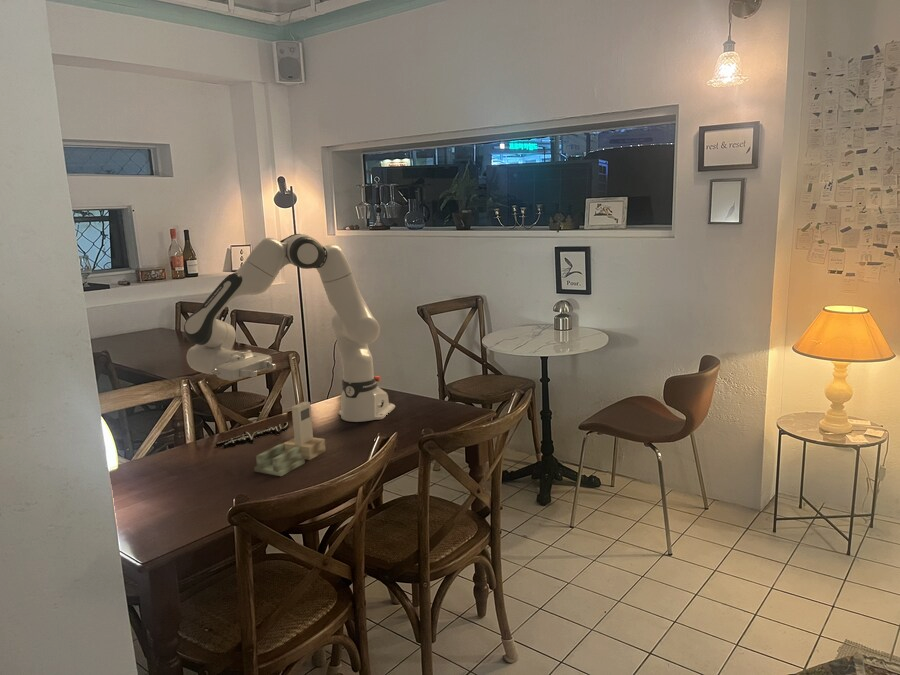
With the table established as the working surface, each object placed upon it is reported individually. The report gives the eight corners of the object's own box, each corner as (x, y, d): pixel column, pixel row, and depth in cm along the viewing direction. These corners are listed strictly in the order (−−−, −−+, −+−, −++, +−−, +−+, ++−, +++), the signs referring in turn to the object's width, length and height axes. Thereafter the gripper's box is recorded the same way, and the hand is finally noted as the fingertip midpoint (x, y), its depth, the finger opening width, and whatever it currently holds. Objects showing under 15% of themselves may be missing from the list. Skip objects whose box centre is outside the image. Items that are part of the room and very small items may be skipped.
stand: (300, 447, 220) (299, 435, 219) (325, 451, 215) (324, 439, 214) (284, 455, 213) (283, 443, 212) (310, 459, 208) (309, 447, 207)
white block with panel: (306, 437, 216) (303, 401, 214) (313, 438, 215) (310, 402, 213) (294, 443, 211) (291, 406, 209) (301, 445, 210) (298, 407, 208)
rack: (278, 458, 210) (277, 443, 209) (304, 462, 206) (303, 447, 205) (254, 471, 201) (252, 455, 200) (281, 476, 196) (279, 460, 195)
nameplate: (280, 419, 245) (297, 425, 238) (280, 424, 245) (298, 429, 238) (211, 441, 224) (228, 448, 218) (211, 446, 224) (228, 452, 218)
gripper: (207, 362, 210) (242, 368, 205) (250, 348, 228) (284, 354, 223) (207, 381, 212) (243, 388, 206) (251, 366, 230) (284, 372, 225)
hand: (265, 370), depth 215 cm, fingers open, 8 cm apart
